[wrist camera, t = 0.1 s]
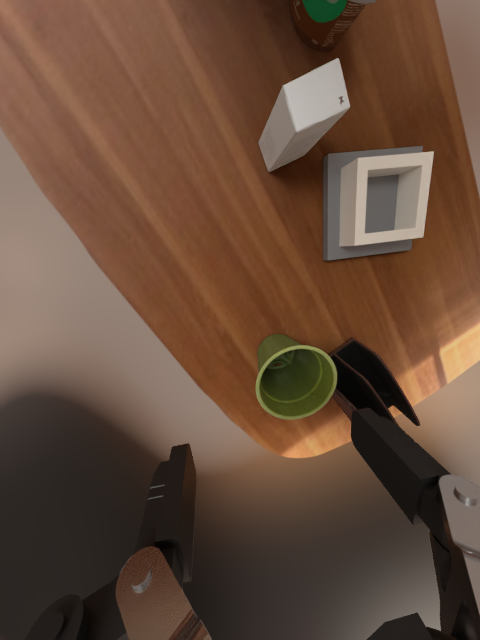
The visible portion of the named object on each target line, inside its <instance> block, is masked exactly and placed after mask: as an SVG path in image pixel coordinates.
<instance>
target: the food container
mask: <svg viewBox="0 0 480 640" xmlns="http://www.w3.org/2000/svg"><path fill="white" fill-rule="evenodd" d="M375 1H376V0H290V2H289V6H290V14H291V19H292V22H293V25H294V28H295V29H296V31H297V33H298V35H299V36H300V38H301V39H302V40H303V41H304V42H305V43H306V44H307V45H309V46H310V47H312V48H314V49H317V50H326V51H327V50H332V49H333V48H334V47H335V45H336V44H337V43H338V41H339V40H340V39H341V37H342V36H343V35H344V33H345V32H346V31H347V29H348V28H349V27H350V25H351V24H352V23H353V21H354V20H355V19H356V17H357V16H358V15H359V13H360V12H361V11H362V9H363V8H364V7H365V5H366V4H369V3H375Z"/></svg>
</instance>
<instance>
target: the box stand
mask: <svg viewBox="0 0 480 640" xmlns="http://www.w3.org/2000/svg"><path fill="white" fill-rule="evenodd" d="M422 148H423V146H416V147H404V148H392V149H380V150H368V151H355V152H343V153H331V154H327V155H326V156H325V157H324V158H323V260H327V261H328V260H336V259H344V258H351V257H359V256H367V255H375V254H382V253H390V252H398V251H406V250H411V247H412V239H414V238H422V237H423V235H424V227H425V219H426V211H427V203H428V195H429V187H430V179H431V171H432V163H433V155H434V151H433V152H422Z"/></svg>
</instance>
